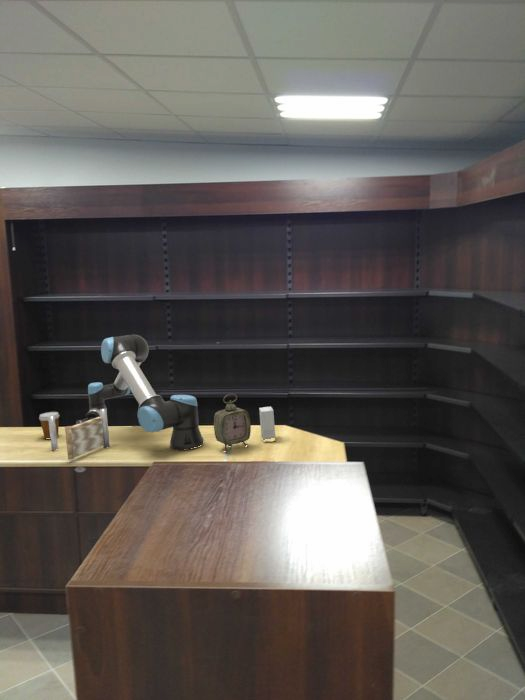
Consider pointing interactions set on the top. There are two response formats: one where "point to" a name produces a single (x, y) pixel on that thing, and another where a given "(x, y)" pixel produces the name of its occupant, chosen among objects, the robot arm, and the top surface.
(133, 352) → the robot arm
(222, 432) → the tabletop clock
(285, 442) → the top surface
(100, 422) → the gate
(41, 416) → the disposable coffee cup
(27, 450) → the top surface
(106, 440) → the hinge post
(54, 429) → the post
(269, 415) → the skincare box
